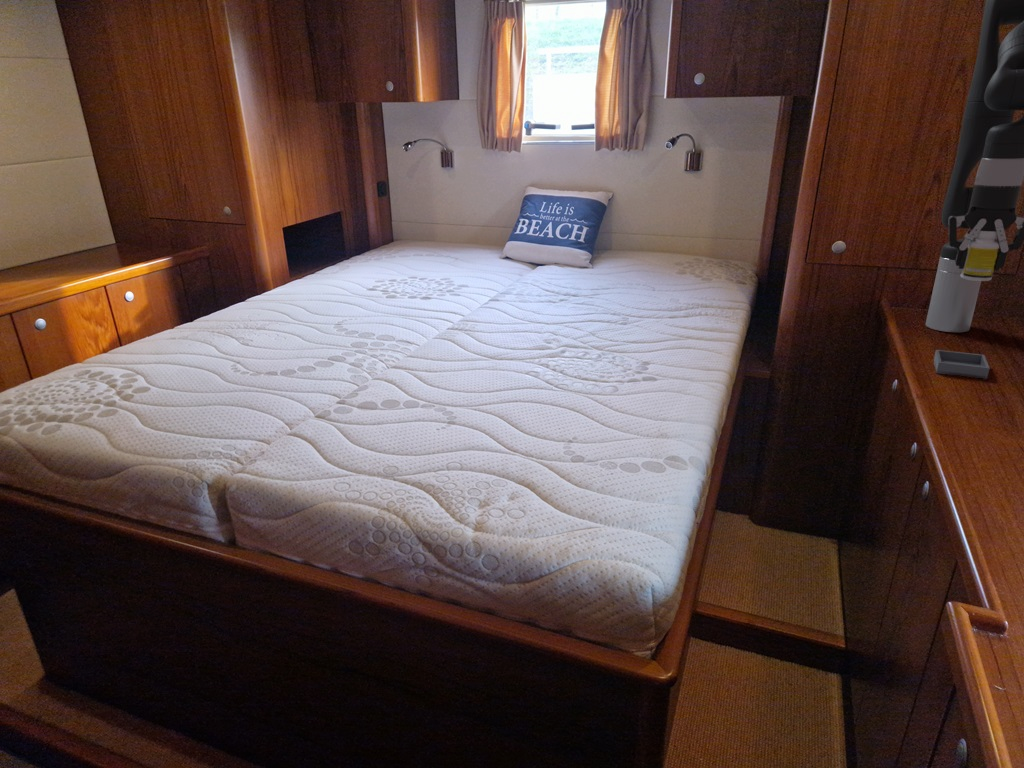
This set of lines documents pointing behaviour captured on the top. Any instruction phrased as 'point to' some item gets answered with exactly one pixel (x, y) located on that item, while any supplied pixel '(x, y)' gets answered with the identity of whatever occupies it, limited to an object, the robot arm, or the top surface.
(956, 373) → the tray
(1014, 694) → the top surface
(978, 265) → the supplement bottle
